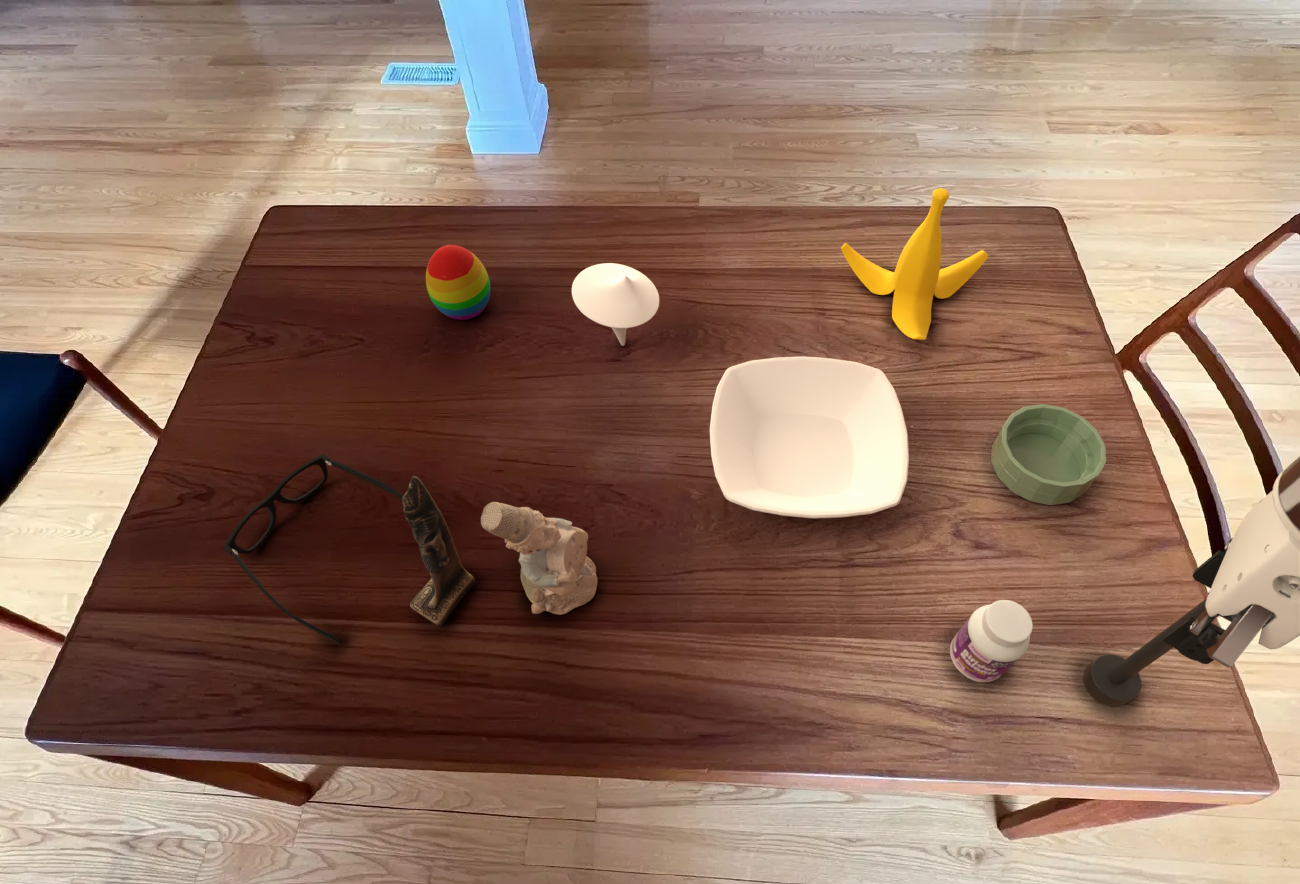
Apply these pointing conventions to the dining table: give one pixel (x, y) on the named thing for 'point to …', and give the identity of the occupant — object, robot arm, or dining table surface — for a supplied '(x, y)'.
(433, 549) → the statue
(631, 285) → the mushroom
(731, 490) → the bowl
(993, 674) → the pill bottle
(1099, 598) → the dining table surface
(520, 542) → the figurine
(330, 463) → the glasses
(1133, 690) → the disc-footed rod
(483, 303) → the decorative egg
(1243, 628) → the robot arm
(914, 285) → the banana peel
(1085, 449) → the green round dish
